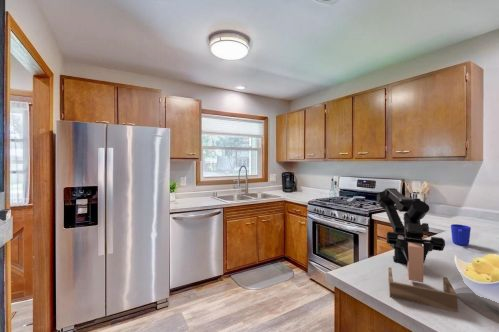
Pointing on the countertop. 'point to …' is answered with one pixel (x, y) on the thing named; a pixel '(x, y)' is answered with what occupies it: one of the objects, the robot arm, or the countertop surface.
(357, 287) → the countertop surface
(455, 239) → the mug
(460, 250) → the countertop surface
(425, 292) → the brown u-shaped piece
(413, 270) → the block
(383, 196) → the robot arm
